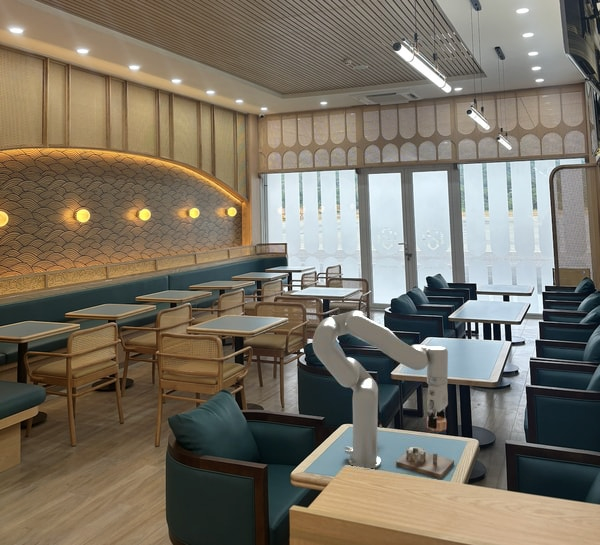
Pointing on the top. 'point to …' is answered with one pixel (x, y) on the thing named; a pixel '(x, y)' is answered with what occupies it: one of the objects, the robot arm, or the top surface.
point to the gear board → (425, 462)
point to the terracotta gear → (439, 424)
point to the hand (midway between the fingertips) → (436, 424)
